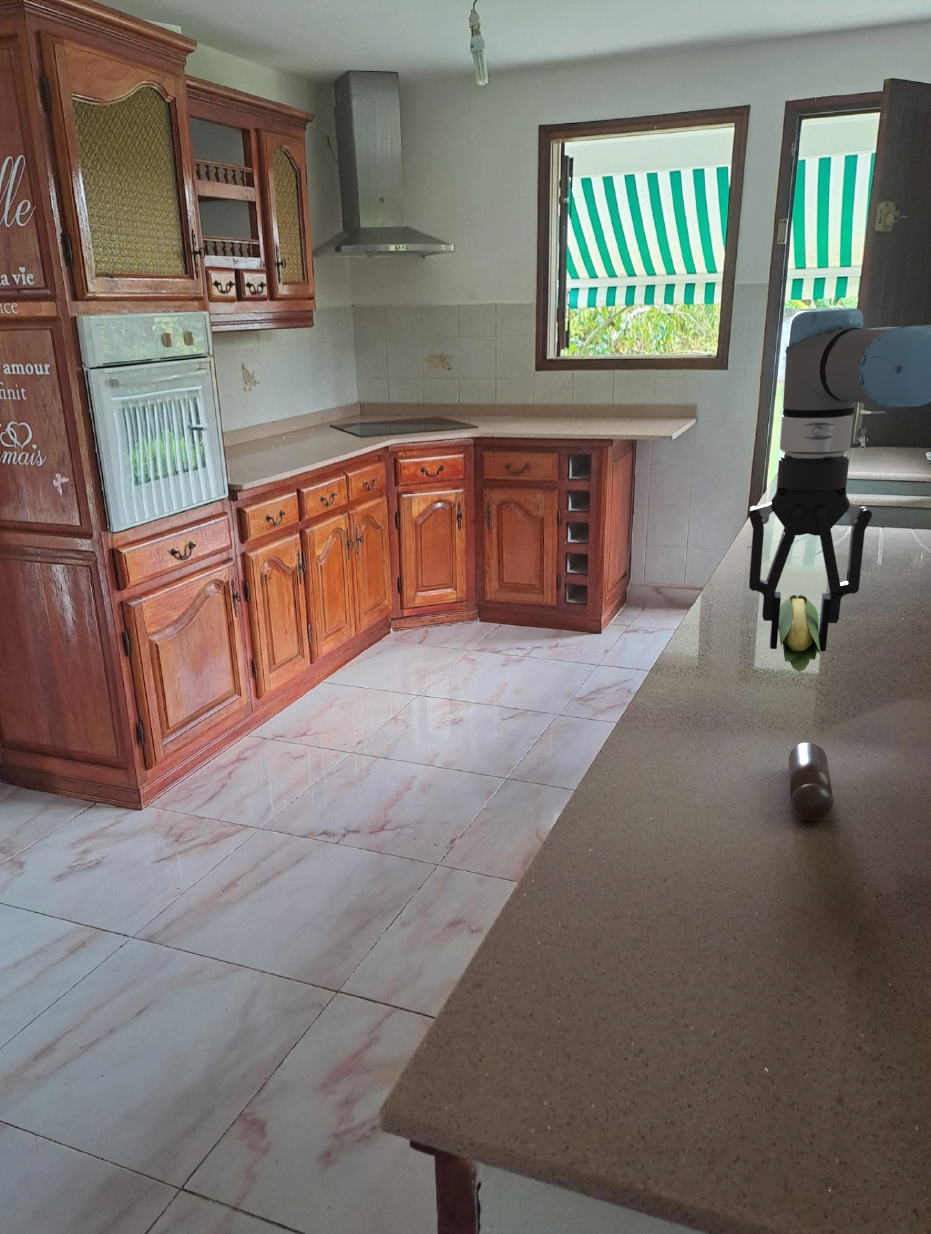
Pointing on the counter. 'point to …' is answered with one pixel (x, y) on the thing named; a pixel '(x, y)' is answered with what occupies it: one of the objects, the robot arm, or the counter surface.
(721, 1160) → the counter surface
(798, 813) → the dark brown capsule
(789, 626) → the edible corn
